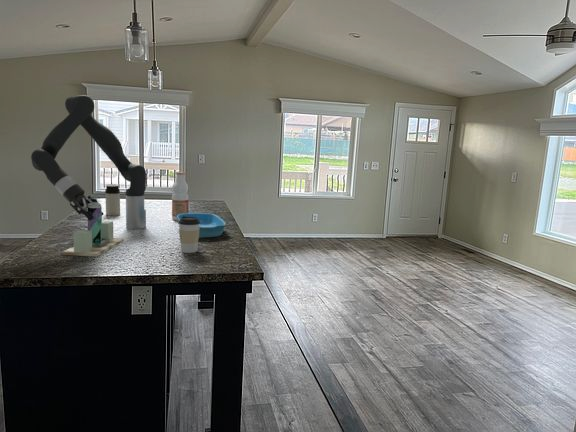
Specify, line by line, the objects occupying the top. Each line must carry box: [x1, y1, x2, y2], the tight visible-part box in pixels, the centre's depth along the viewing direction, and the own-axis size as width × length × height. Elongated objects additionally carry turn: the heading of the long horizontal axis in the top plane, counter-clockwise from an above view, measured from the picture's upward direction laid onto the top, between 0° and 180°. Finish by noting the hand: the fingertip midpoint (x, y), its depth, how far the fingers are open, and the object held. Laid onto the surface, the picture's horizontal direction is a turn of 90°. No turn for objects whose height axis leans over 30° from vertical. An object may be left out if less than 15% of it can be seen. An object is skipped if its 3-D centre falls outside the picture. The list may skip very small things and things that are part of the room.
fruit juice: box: [171, 171, 189, 222], centre depth 250 cm, size 9×9×28 cm
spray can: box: [87, 198, 103, 243], centre depth 182 cm, size 6×6×20 cm
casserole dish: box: [177, 212, 227, 239], centre depth 224 cm, size 37×22×7 cm, turn 22°
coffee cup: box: [178, 216, 200, 254], centre depth 185 cm, size 9×9×15 cm
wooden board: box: [62, 237, 125, 258], centre depth 184 cm, size 26×14×1 cm, turn 178°
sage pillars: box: [72, 220, 114, 253], centre depth 183 cm, size 25×5×8 cm, turn 178°
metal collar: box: [92, 238, 109, 248], centre depth 184 cm, size 9×9×2 cm
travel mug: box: [105, 183, 121, 217], centre depth 255 cm, size 8×8×18 cm
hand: (97, 217), depth 182 cm, fingers open, 8 cm apart
